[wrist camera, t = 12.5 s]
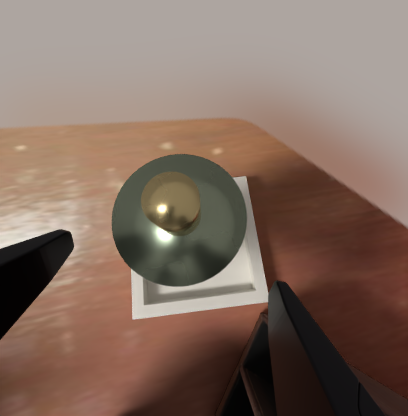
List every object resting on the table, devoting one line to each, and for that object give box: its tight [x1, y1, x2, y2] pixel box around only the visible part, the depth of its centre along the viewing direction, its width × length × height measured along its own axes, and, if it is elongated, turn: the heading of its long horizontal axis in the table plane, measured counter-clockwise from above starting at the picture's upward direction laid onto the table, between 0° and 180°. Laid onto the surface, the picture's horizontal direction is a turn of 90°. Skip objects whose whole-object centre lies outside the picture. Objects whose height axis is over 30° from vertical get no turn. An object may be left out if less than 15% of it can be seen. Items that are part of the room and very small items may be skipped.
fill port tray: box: [131, 176, 268, 320], centre depth 20 cm, size 12×12×2 cm
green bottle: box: [112, 154, 247, 287], centre depth 13 cm, size 5×5×15 cm
